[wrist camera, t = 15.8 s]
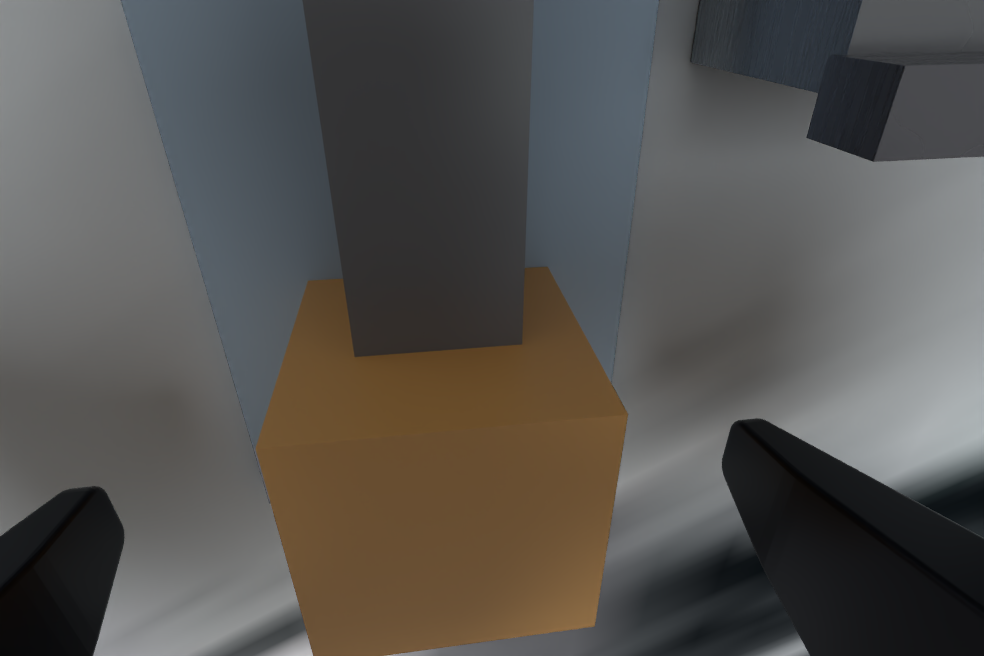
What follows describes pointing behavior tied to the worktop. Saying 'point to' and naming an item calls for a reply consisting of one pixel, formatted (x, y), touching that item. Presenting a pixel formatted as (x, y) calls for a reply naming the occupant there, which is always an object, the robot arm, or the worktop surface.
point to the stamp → (436, 354)
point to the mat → (304, 178)
